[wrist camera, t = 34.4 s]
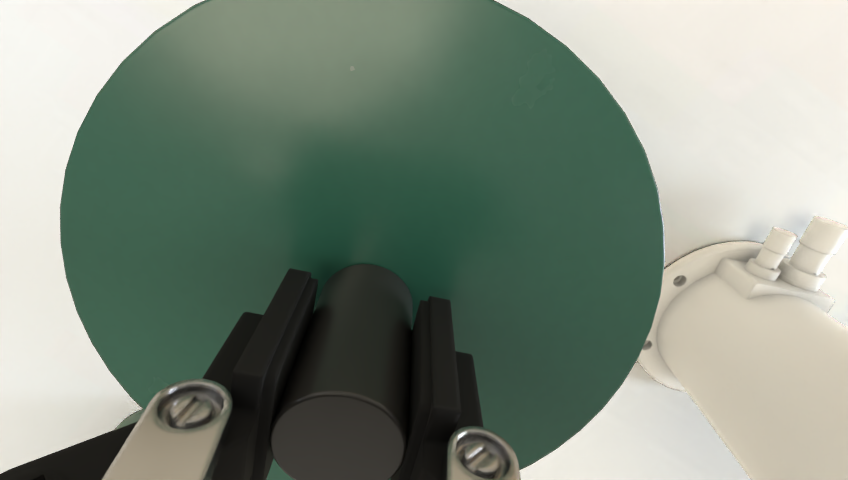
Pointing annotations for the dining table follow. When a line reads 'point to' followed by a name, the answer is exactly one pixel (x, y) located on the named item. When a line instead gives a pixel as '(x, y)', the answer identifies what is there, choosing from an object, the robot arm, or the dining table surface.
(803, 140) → the dining table surface
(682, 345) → the robot arm
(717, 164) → the dining table surface
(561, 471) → the dining table surface
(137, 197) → the lid
